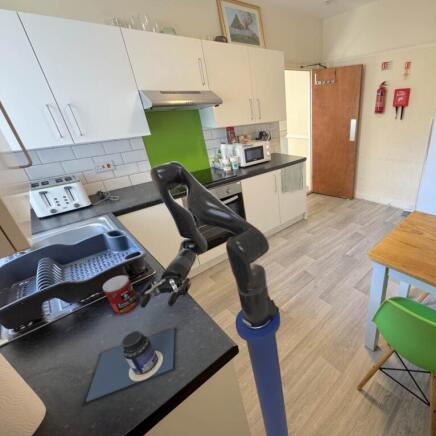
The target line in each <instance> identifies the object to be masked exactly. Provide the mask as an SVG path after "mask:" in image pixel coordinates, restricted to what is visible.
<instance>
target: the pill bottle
mask: <svg viewBox="0 0 436 436" xmlns="http://www.w3.org/2000/svg"><path fill="white" fill-rule="evenodd" d="M148 337H149V336H146V335H144V334H143V332H142V331H141V330H133V331H131V332H129V333H127V334H126V335H125V336H124V337H123V338H122V340H121V346H123V348H124V349H123V355H124V357H125V358H126V360H127V362H128V363H129V365H130V367H131V368H132V370H133V372H134V373H135V374H137V375H141V374H145V373H147V372H149V371H150V370H151V369H152V368H154V366H155V365H156V363H157V360H158V356H157V354H156V352H155V350H154V348H153V346H152V344H151V342H150V340H149V338H148Z"/></svg>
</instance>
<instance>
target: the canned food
mask: <svg viewBox="0 0 436 436" xmlns="http://www.w3.org/2000/svg"><path fill="white" fill-rule="evenodd" d="M102 290H103V293H104V294H105V296H106V298H107V300H108V302H109V303H110V306H111V307H112V309H113V311H114V312H116V313H117V314H125V313H129V312H130V311H132V310H133V309H134V308H136V307H137V306H138V303H139V299H138V296H137V294H136V292H135V290H134V287H133V285H132V283H131V280H130V278H129V277H128V276H127V275H124V274H123V275H117V276H114V277H112V278H109V279H108V280H107V281H105V282H104V283H103V285H102Z"/></svg>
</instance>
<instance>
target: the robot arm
mask: <svg viewBox="0 0 436 436" xmlns="http://www.w3.org/2000/svg"><path fill="white" fill-rule="evenodd" d="M149 175H150V178H151V181H152V184H153V185H154V187H155V189H156V191H157V193H158V195H159V197H160V199H161V200H162V202H163V204H164V205H165V207H166V209H167V210H168V212H169V213H170V216H171V217H172V219H173V221H174V224H175V227H176V229H177V231H178V234H179V236H180V237H181V238H183V240H182V241H180V245H179V249H178V253H177V254H176V256H175V257H174V258H173V259H172V260H171V261H170V263H169V264H168V265H167V267H166V268H165V270H164V271H163V272H162V274H161V277H160V279H159V280H157V281H154V280H153V279H150V280H149V281H147V283H146V284H145V285H144V287H142V289H141V290H140V291H139V292H140V295H141V299H140V300H139V301H138V303H139V306H140V307H141V308H142V309H143V308H146V307H147V305H148V304H149V302H150V301H151V299H152V298H154V297H158V296H159V295H161V294H165V293H167V294H171V295H170V297H169V298H168V300H167V304H168V306H169V307H173V306H174V305H175V304H176V302H177V301H178V299H179V298H180V297H181V296H182V297H186V296H187V294H188V292H189V290H190V288H191V285H192V283H191V280H190V277H188V275H189V274H190V272H191V270H192V267H193V266H194V264H195V262H196V261H197V255H202V254H205V253H206V251H207V250H208V242H207V239H206V238H205V236H204V235H203V234H202V233H201V232H200V230H199V229H198V227H197V223H196V220H195V219H197V221H199V222H200V223H201V224H203V225H205V226H208V227H211V228H216V229H220V230H223V231H226V232H230V233H231V234H232V235H233V234H234V235H233V236H232V237H229V238H228V239H227V241H226V243H225V250H226V255H227V259H228V261H229V265H230V269H231V273H232V275H233V277H234V279H235V283H236V284H235V285H236V288H237V293H238V298H239V302H240V303H239V304H240V307H241V310H242V313H243V318H244V319H243V318H242V319H243V322H244V324H245V325H246V327H248V328H249V329H252V330H259V329H262V328H264V327H266V326H267V325H268V324H269V323H270V321H272V320H273V315H277V313H278V311H279V312H280V308H279V307H278V306H277V305H276V303H275V301H274V299H271V296H270V295H269V289H268V280H267V273H266V270H265V267H264V266H262V265H261V264H259V263H256V261H257V260H259V259H261V258H262V257H263V256H264V255H266V254H267V253H268V252H269V250H270V243H269V240H268V239H267V237H266V235H265V234H264V233H263V232H262V231H261V230H260V229H259V228H258V227H256V226H255V225H253V224H252V223H250V222H249V221H247V220H246V219H245V218H243V217H241V216H240V215H239V214H237V213H236V212H234V211H233V210H232V208H231V209H230V208H229V207H228V206H227V205H226V204H225V203H224V202H223V201H221V200H220V199H219V198H218V197H217V196H216V195H215V194H214V193H212V192H211V191H209V189H207V187H205V186H204V185H203V184H201V183H200V181H198V180H197V179H196V178H195V177H194V176H193V174H191V172H190V171H188V169H187V168H186V167H185V166H184V165H183V164H182V163H180V162H178V161H176V160H174V161H168V162H166V163H161V164H159V165H156V166H153V167H151V168H150V170H149ZM181 187H184V188H185V189H186V206H187V208H186V207H184V206H183V205H182V204H180V203H179V202H178V201H177V200H175V199H174V198H173V196H172V194H171V191H172V190H173V191H174V190H176V189H178V188H181ZM194 217H195V218H194ZM179 288H180V289H179ZM157 290H158V291H157Z"/></svg>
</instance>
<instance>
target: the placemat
mask: <svg viewBox="0 0 436 436" xmlns="http://www.w3.org/2000/svg"><path fill="white" fill-rule="evenodd" d="M147 337H148V338H149V340H150V342H151V344H152V346H153V348H154V350H155V352H156V354H157V356H158V360H157V363H156V365H155V366H154V368H152V369H151V370H150V371H149V372H147V373H145V374H141V375H137V374H135V373H134V372H133V370H132V368H131V367H130V365H129V363H128V362H127V360H126V358H125V357H124V355H123V349H124V348H123V346H122V345H121V346H117V347H114V348H112V349H109V350H105V351H103V352H101V355H100V358H99V361H98V363H97V367H96V370H95V372H94V375H93V378H92V381H91V384H90V387H89V390H88V393H87V396H86V399H85V402H86V403H89V402H91V401H93V400H97V399H98V398H101V397H104V396H106V395H109V394H112V393H115V392H118V391H119V390H122V389H125V388H127V387H130V386H132V385H135V384H138V383H140V382H143V381H145V380H148V379H151V378H154V377H156V376H158V375H161V374H163V373H166V372H168V371H171V370H173V369H174V360H175V341H176V340H175V339H176V338H175V337H176V329H175V328H171V329H169V330H165V331H163V332H158V333H157V334H154V335H150V336H147Z"/></svg>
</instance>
